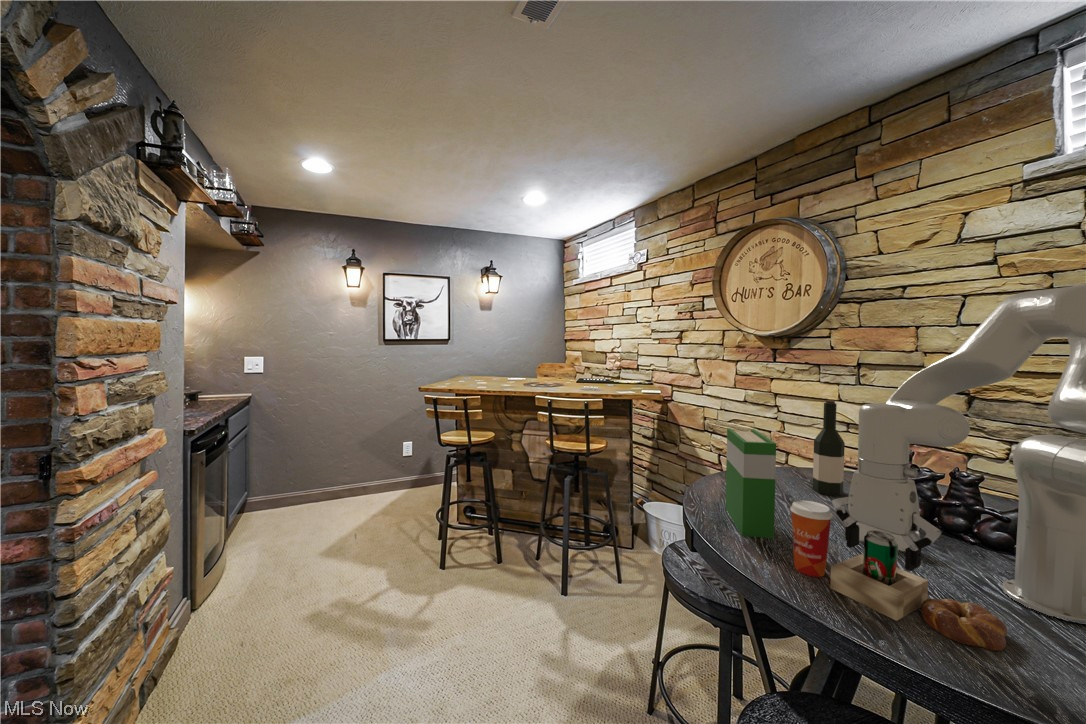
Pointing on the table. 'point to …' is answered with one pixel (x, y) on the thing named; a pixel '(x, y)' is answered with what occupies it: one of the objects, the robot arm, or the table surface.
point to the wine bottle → (828, 455)
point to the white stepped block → (864, 528)
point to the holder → (879, 589)
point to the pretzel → (965, 623)
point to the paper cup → (810, 536)
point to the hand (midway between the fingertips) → (880, 556)
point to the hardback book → (751, 482)
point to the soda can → (880, 557)
